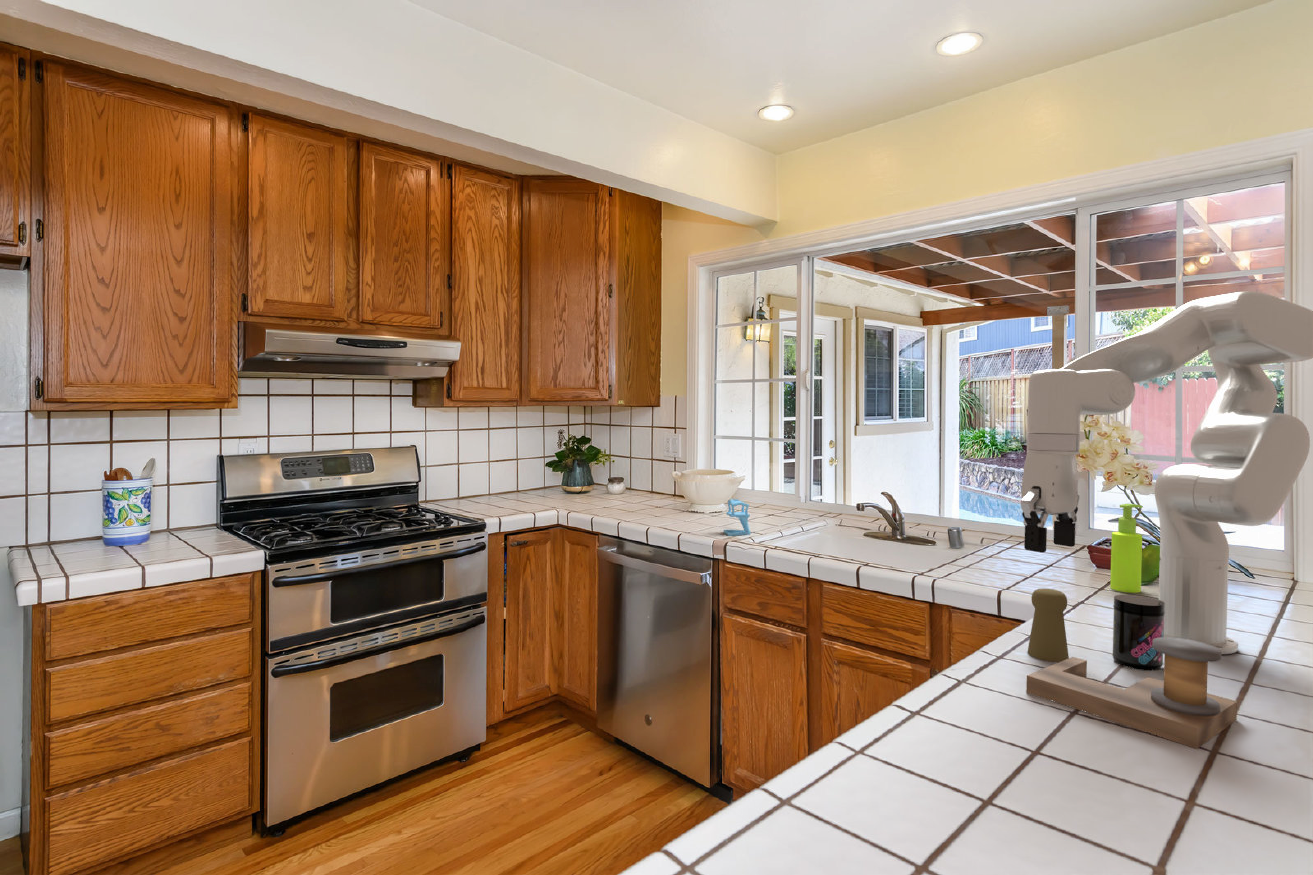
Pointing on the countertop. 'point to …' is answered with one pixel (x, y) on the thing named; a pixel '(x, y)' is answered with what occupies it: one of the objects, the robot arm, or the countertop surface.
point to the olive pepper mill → (1048, 626)
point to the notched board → (1148, 694)
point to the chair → (741, 515)
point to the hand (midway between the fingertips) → (1049, 548)
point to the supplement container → (1137, 631)
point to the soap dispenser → (1126, 554)
